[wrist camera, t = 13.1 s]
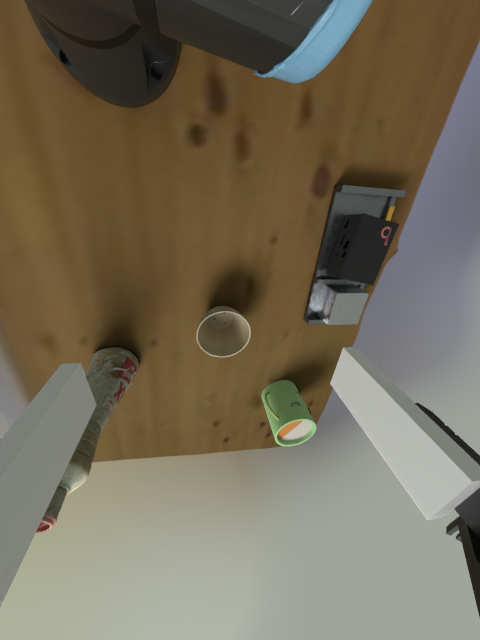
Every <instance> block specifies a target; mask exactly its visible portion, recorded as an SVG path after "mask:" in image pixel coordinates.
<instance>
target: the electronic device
mask: <svg viewBox="0 0 480 640" xmlns="http://www.w3.org/2000/svg"><path fill="white" fill-rule="evenodd" d="M398 225H399V224H397V223H394V222H391V221H387V220H384V219H381V218H378V217H374V216H371V215H368V214H365V213H362V214H353V215H346V217H345V219H344V222H343V225H342V228H341V231H340V234H339V237H338V240H337V243H336V245H335V248H334V251H333V254H332V257H331V260H330V263H329V266H328V269H327V272H326V274H328V275H331V276H334V277H337V278H340V279H345V280H349V281H354V282H359V283H364V284H368V285H373V284H374V282H375V279H376V277H377V275H378V272H379V270H380V268H381V265H382V263H383V261H384V258H385V256H386V254H387V251H388V249H389V246H390V244H391V242H392V239H393V237H394V235H395V232H396V230H397V228H398Z"/></svg>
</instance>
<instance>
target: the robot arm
mask: <svg viewBox="0 0 480 640" xmlns="http://www.w3.org/2000/svg"><path fill="white" fill-rule="evenodd" d="M372 1H373V0H25V2H26V4H27V7H28V9H29V11H30V13H31V16H32V18H33V20H34V22H35V24H36V26H37V28H38V30H39V32H40V34H41V35H42V37H43V39H44V40H45V42H46V43H47V45H48V46H49V48H50V49H51V51H52V52H53V54H54V55H55V56H56V58H57V59H58V60H59V61H60V63H61V64H62V65H63V66H64V67H65V68H66V70H67V71H68V72H69V73H70V74H71V75H72V76H73V77H74V78H75V79H76V80H77V81H78V82H80V83H81V84H82V85H83V86H84V87H85V88H86V89H88V90H89V91H90V92H91V93H93V94H94V95H96V96H97V97H99V98H101V99H103V100H104V101H107V102H109V103H111V104H114V105H118V106H122V107H140V106H144V105H147V104H149V103H151V102H153V101H155V100H156V99H157V98H159V97H160V96H161V95H162V94H163V93H164V92H165V90H166V89H167V88H168V86H169V84H170V83H171V81H172V79H173V77H174V74H175V71H176V69H177V65H178V61H179V55H180V46H181V42H183V43H185V44H188V45H190V46H193V47H196V48H198V49H201V50H203V51H206V52H209V53H211V54H214V55H216V56H219V57H222V58H224V59H227V60H229V61H232V62H234V63H237V64H240V65H242V66H245V67H247V68H250V69H253V72H254V73H255V74H256V75H257V76H260V77H274V78H277V79H281V80H284V81H287V82H290V83H300V82H302V81H307V80H309V79H311V78H313V77H315V76H316V75H317V74H318V73H320V72H321V71H322V70H323V69H324V68H325V67H326V66H327V65H328V64H329V63H330V62H331V61H332V60H333V58H334V57H335V56H336V55H337V54H338V52H339V51H340V50H341V48H342V47H343V46H344V44H345V43H346V42H347V40H348V39H349V37H350V36H351V34H352V33H353V31H354V30H355V28H356V27H357V25H358V24H359V22H360V21H361V19H362V17H363V16H364V14H365V13H366V11H367V9H368V8H369V6H370V4H371V3H372ZM330 384H331V385H332V387H333V388H334V390H335V391H336V393H337V394H338V395H339V397H340V398H341V399H342V401H343V402H344V404H345V405H346V407H347V408H348V409H349V411H350V412H351V414H352V415H353V416H354V418H355V419H356V421H357V422H358V423H359V425H360V426H361V428H362V429H363V430H364V432H365V433H366V435H367V436H368V438H369V439H370V440H371V442H372V443H373V445H374V446H375V448H376V449H377V450H378V452H379V453H380V455H381V456H382V457H383V459H384V460H385V462H386V463H387V464H388V466H389V467H390V468H391V470H392V471H393V473H394V474H395V476H396V477H397V479H398V480H399V481H400V482H401V484H402V486H403V487H404V488H405V490H406V491H407V493H408V494H409V495H410V497H411V498H412V499H413V501H414V503H415V504H416V505H417V507H418V508H419V510H420V511H421V512H422V514H423V515H424V517H425V518H426V519H427V521H429V520H434V519H438V518H442V517H445V516H446V515H448V514H449V513H450V512H451V511H453V510H454V509H455V510H456V511H457V512H458V514H459V515H460V516H459V517H458V518H456V519H455V520H454V521H453V522H451V523H450V524H449V525H448V526H447V529H446V530H447V531H446V533H447V534H448V535H452V534H453V533H455V532H456V531H457V530H459V532H460V533H459V534H458V535H457V536H456V539H457V540H459V541H461V542H462V544H463V549H464V553H465V557H466V561H467V565H468V570H469V574H470V578H471V582H472V586H473V590H474V595H475V599H476V603H477V608H478V612H479V616H480V456H479V455H478V454H477V453H476V452H475V451H474V450H473V449H472V448H471V447H469V446H468V445H467V444H466V443H465V442H464V441H463V440H462V439H461V438H460V437H459V436H458V435H455V433H454V432H453V431H452V430H451V429H450V428H449V427H448V426H445V425H444V423H443V422H442V421H441V420H440V419H439V418H438V417H437V416H436V415H435V414H434V413H433V412H431V411H430V410H428V409H427V408H425V407H424V406H422V405H420V404H419V403H414V402H413V401H412V400H411V399H410V398H408V397H407V396H406V395H405V394H404V393H403V392H402V391H401V390H400V389H399V388H398V387H397V386H396V385H395V384H394V383H393V382H392V381H391V380H390V379H389V378H387V377H386V376H385V375H384V374H383V373H382V372H381V371H380V370H379V369H378V368H377V367H376V366H375V365H374V364H373V363H372V362H371V361H370V360H369V359H368V358H366V356H364V355H363V354H362V353H361V352H360V351H359V350H358V349H357V348H356V347H345V348H343V350H342V352H341V355H340V358H339V361H338V363H337V366H336V369H335V372H334V374H333V377H332V380H331V383H330ZM96 405H97V404H96V402H95V399H94V397H93V394H92V391H91V389H90V386H89V383H88V381H87V378H86V376H85V373H84V370H83V368H82V365H81V363H73V364H61V365H60V367H59V368H58V369H57V370H56V372H55V373H54V374H53V375H52V377H51V378H50V379H49V380H48V382H47V383H46V384H45V385H44V387H43V388H42V389H41V390H40V392H39V393H38V394H37V395H36V397H35V398H34V399H33V400H32V402H31V403H30V404H29V405H28V407H27V408H26V409H25V410H24V412H23V413H22V414H21V415H20V417H19V418H18V419H17V420H16V422H15V423H14V424H13V425H12V427H11V428H10V429H9V430H8V431H7V433H6V434H5V435H4V437H3V438H2V439H1V440H0V606H1V604H2V602H3V600H4V598H5V596H6V594H7V591H8V589H9V587H10V585H11V583H12V581H13V579H14V577H15V575H16V573H17V570H18V568H19V566H20V564H21V562H22V560H23V558H24V556H25V554H26V552H27V550H28V548H29V545H30V543H31V541H32V539H33V537H34V535H35V533H36V531H37V529H38V527H39V525H40V522H41V520H42V518H43V516H44V514H45V512H46V510H47V508H48V506H49V504H50V501H51V499H52V497H53V495H54V493H55V491H56V489H57V487H58V485H59V483H60V481H61V478H62V476H63V474H64V472H65V470H66V468H67V466H68V464H69V462H70V460H71V457H72V455H73V453H74V451H75V449H76V447H77V445H78V443H79V441H80V439H81V437H82V434H83V432H84V430H85V428H86V426H87V424H88V422H89V420H90V418H91V416H92V413H93V411H94V409H95V407H96Z"/></svg>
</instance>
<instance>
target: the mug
mask: <svg viewBox="0 0 480 640" xmlns="http://www.w3.org/2000/svg"><path fill="white" fill-rule="evenodd" d="M262 400H263V403H264V407H265V410H266V413H267V416H268V419H269V422H270V425H271V428H272V431H273V435H274V438H275V441H276V442H277V443H278V444H279V445H282V446H294V445H298V444H300V443H303V442H305V441H306V440H308V439H309V438H310V437H311V436H312V435H313V434H314V433H315V430H316V424H315V422H314V420H313V419H312V417H311V412H310V413H309V411H310V409H309V408H308V409H307V407H306V405H305V403H304V401H303V399H302V397H301V395H300V393H299V392H298V390H297V388H296V386H295V384H294V383H293V382H291V381H288V380H279V381H275V382H273V383H271V384H269V385H268V386H267V387H266V388H265V389H264V390H263V392H262ZM308 410H309V411H308Z"/></svg>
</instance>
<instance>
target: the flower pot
mask: <svg viewBox="0 0 480 640" xmlns="http://www.w3.org/2000/svg"><path fill="white" fill-rule="evenodd" d="M223 312H224V313H223ZM214 319H215V320H214ZM224 322H225V323H224ZM250 336H251V329H250V326H249V323H248V322H247V320H246V319H245V318H244V316H243V315H242V314H241V313H239V312H238V311H237V310H235V309H233V308H231V307H227V306H218V307H215V308H213V309H211V310H209V311H208V312H207V313H206V314H205V315H204V316H203V318H202V319H201V321H200V323H199V326H198V329H197V334H196V337H197V342H198V344H199V346H200V348H201V349H202V350H203V351H204V352H206V353H207V354H209V355H212V356H215V357H229V356H232V355H235V354H237V353H239V352H240V351H241V350H243V349H244V348H245V347H246V345H247V344H248V342H249V340H250Z"/></svg>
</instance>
